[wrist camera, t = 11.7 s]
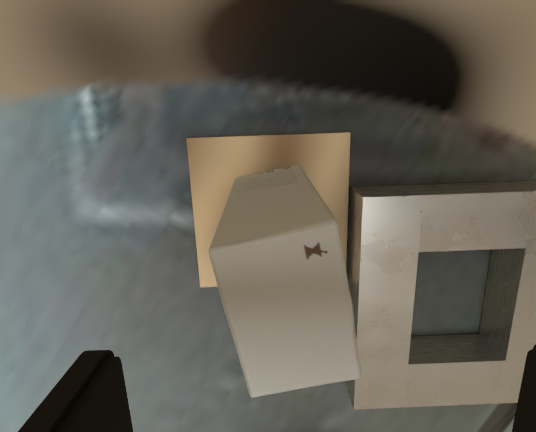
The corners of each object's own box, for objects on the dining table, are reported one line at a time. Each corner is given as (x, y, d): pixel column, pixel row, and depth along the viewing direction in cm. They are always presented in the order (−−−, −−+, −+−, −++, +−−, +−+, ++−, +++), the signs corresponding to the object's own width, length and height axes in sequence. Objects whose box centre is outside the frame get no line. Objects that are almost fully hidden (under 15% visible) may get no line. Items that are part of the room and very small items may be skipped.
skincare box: (232, 177, 22) (202, 244, 11) (299, 162, 22) (342, 215, 11) (254, 264, 24) (247, 404, 12) (316, 251, 24) (368, 381, 12)
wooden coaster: (348, 132, 22) (350, 132, 22) (343, 277, 25) (345, 281, 24) (188, 137, 22) (186, 138, 21) (201, 283, 25) (200, 287, 24)
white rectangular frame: (554, 179, 23) (596, 188, 20) (517, 371, 27) (547, 401, 25) (350, 186, 23) (363, 197, 20) (343, 378, 27) (353, 409, 24)
